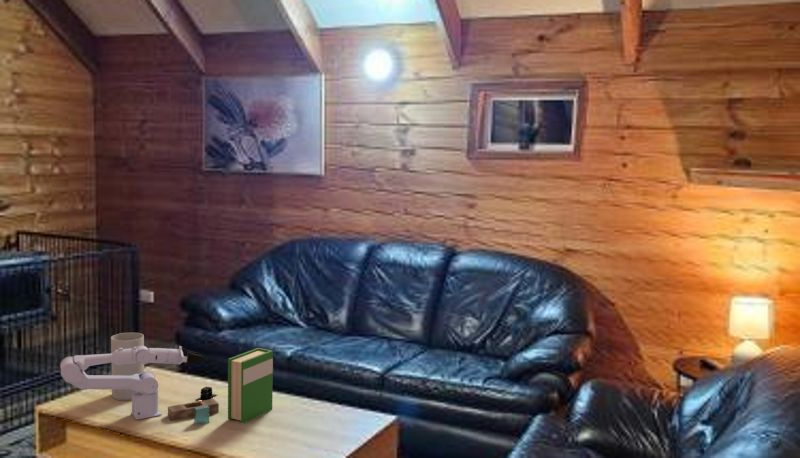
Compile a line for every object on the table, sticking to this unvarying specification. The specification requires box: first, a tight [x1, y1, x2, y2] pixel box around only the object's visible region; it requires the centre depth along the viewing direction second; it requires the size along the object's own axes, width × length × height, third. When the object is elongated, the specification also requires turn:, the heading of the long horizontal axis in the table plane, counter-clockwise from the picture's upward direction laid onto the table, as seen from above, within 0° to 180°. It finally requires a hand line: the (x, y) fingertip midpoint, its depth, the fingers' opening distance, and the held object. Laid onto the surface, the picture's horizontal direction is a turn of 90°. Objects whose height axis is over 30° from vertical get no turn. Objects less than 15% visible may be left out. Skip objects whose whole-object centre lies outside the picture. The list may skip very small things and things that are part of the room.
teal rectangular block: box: [193, 405, 210, 426], centre depth 269 cm, size 5×2×6 cm, turn 123°
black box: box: [195, 386, 218, 401], centre depth 296 cm, size 12×7×5 cm, turn 162°
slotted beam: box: [167, 398, 220, 421], centre depth 278 cm, size 18×6×4 cm, turn 124°
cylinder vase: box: [110, 332, 145, 401], centre depth 294 cm, size 12×12×25 cm
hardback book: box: [227, 347, 274, 424], centre depth 278 cm, size 18×7×24 cm, turn 152°
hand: (202, 357), depth 283 cm, fingers open, 7 cm apart
